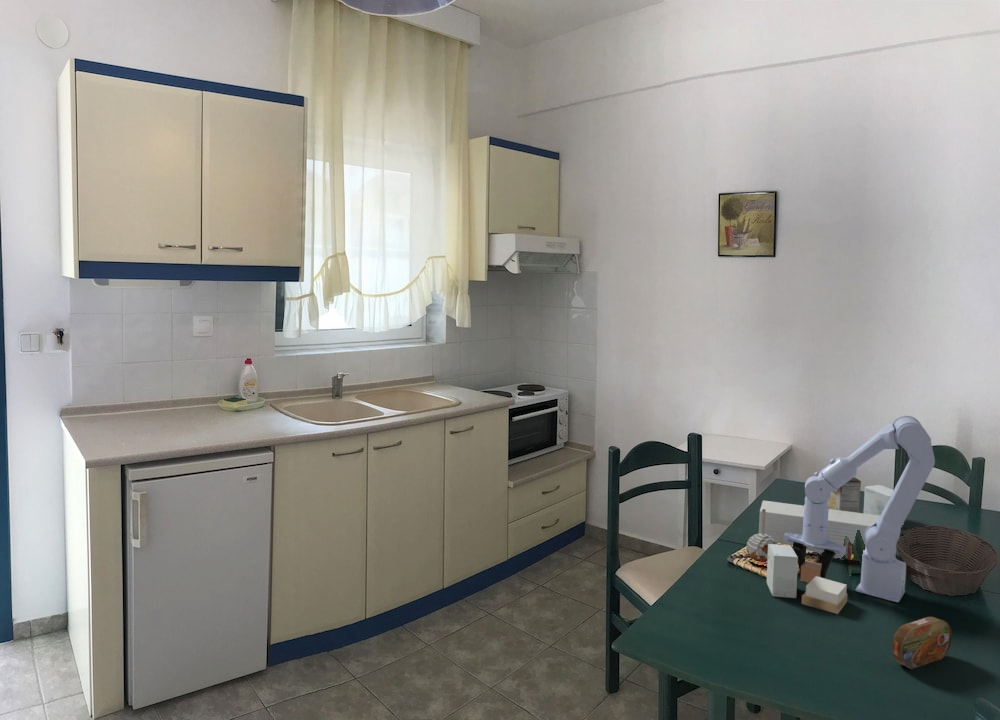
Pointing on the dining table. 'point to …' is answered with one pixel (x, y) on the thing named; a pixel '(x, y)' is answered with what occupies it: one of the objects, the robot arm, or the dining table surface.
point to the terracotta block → (810, 571)
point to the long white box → (791, 521)
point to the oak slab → (824, 604)
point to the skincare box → (876, 499)
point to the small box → (782, 570)
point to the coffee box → (846, 497)
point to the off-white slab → (826, 590)
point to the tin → (922, 642)
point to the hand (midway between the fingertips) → (812, 574)
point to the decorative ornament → (760, 543)
